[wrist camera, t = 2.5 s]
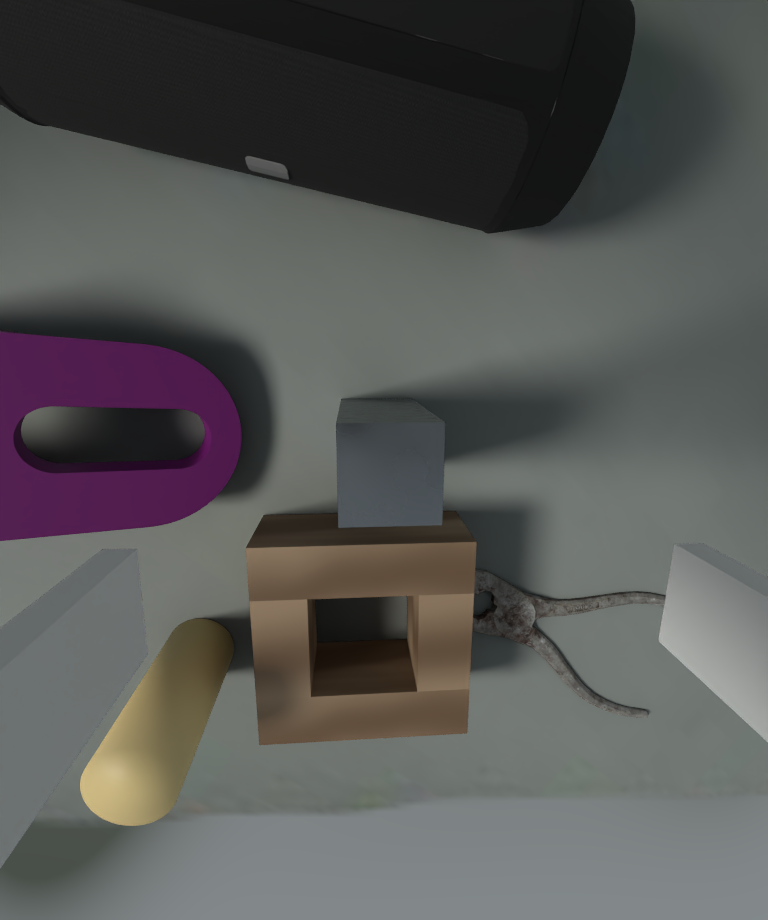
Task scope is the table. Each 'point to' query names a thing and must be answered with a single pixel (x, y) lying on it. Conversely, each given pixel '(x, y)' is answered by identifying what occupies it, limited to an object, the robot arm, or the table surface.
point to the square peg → (389, 464)
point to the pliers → (522, 609)
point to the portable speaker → (339, 92)
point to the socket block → (360, 662)
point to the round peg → (159, 728)
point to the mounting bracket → (106, 483)
